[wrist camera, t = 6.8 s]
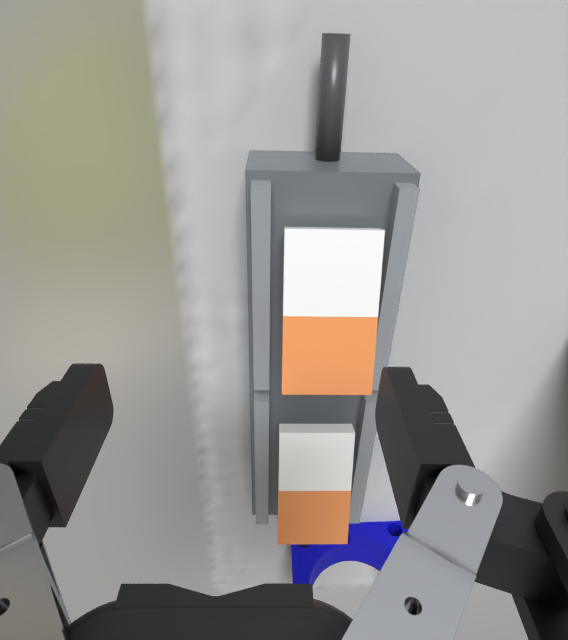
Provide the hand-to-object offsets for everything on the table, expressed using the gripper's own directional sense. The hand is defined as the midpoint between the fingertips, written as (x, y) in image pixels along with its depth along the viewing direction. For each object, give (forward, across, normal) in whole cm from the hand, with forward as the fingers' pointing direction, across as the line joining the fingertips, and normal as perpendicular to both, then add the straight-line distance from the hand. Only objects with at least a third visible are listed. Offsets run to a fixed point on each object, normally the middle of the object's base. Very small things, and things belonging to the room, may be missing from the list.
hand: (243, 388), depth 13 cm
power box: (+18, -4, +8) cm, 20 cm away
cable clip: (+19, -9, +36) cm, 41 cm away
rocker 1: (+11, -4, +4) cm, 13 cm away
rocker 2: (+12, -4, +18) cm, 22 cm away
